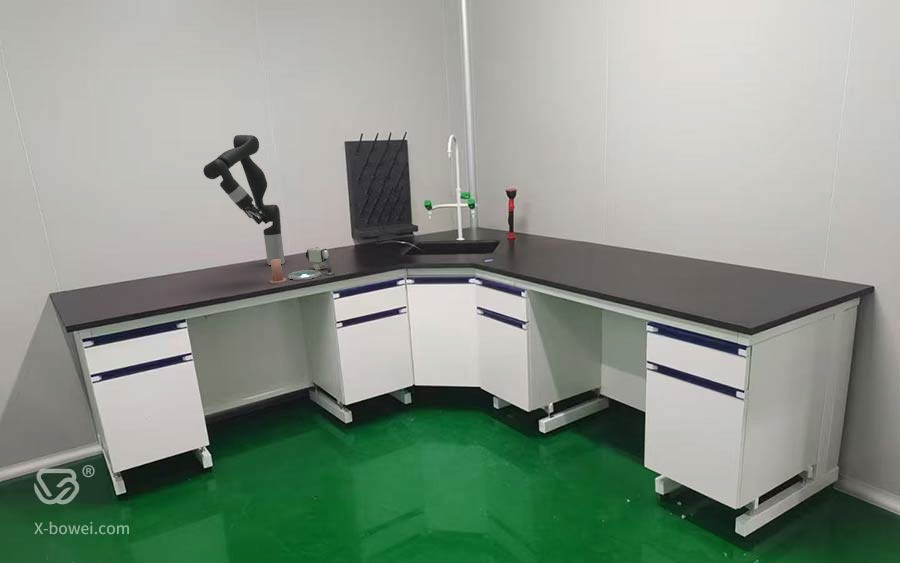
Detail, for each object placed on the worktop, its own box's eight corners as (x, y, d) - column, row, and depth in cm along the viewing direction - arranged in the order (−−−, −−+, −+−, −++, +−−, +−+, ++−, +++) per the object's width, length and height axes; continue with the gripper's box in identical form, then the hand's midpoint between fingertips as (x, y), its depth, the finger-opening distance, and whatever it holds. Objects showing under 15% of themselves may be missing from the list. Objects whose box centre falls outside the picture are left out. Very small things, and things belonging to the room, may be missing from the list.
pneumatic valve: (326, 270, 300) (323, 248, 297) (307, 270, 304) (304, 247, 301) (331, 268, 305) (329, 246, 302) (313, 267, 309) (310, 245, 306)
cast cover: (267, 282, 282) (264, 260, 279) (282, 279, 287) (279, 257, 284) (273, 284, 276) (271, 262, 273) (289, 281, 281) (286, 259, 278)
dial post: (323, 274, 292) (321, 249, 289) (331, 272, 295) (329, 248, 292) (328, 275, 289) (325, 250, 286) (335, 274, 292) (333, 249, 289)
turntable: (282, 277, 291) (282, 273, 291) (311, 271, 301) (311, 268, 300) (296, 282, 279) (296, 278, 279) (326, 275, 289) (326, 272, 288)
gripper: (252, 190, 266) (275, 217, 274) (240, 193, 277) (263, 218, 285) (240, 201, 263) (264, 227, 271) (229, 203, 273) (252, 228, 281)
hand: (263, 222), depth 278 cm, fingers open, 8 cm apart
